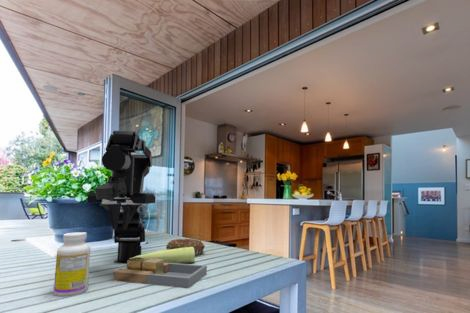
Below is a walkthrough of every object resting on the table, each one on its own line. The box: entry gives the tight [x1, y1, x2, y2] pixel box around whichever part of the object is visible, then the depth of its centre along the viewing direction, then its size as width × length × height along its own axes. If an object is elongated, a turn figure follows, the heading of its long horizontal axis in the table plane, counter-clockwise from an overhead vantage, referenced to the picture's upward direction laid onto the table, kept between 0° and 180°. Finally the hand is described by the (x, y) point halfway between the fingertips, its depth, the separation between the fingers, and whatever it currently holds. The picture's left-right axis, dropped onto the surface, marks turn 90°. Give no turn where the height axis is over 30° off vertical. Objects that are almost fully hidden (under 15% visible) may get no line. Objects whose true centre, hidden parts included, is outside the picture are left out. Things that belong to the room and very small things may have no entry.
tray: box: [146, 263, 208, 289], centre depth 72 cm, size 11×12×2 cm
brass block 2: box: [142, 258, 164, 275], centre depth 74 cm, size 4×4×4 cm
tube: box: [129, 247, 196, 264], centre depth 87 cm, size 6×5×20 cm
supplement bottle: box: [53, 231, 91, 297], centre depth 63 cm, size 7×7×13 cm
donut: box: [165, 238, 206, 256], centre depth 103 cm, size 14×14×5 cm
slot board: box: [112, 262, 169, 285], centre depth 75 cm, size 10×12×2 cm
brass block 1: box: [126, 257, 149, 271], centre depth 75 cm, size 4×4×4 cm
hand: (119, 229), depth 78 cm, fingers open, 3 cm apart
